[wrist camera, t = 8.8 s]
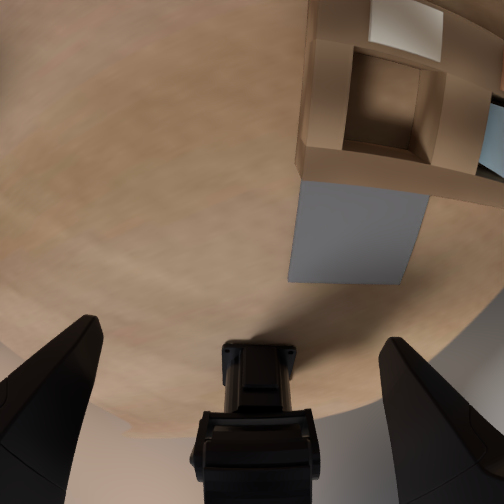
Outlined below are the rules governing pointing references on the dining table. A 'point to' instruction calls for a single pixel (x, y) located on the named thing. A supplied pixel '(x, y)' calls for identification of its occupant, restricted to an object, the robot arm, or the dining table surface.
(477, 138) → the socket block
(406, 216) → the pad
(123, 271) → the dining table surface
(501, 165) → the plug
